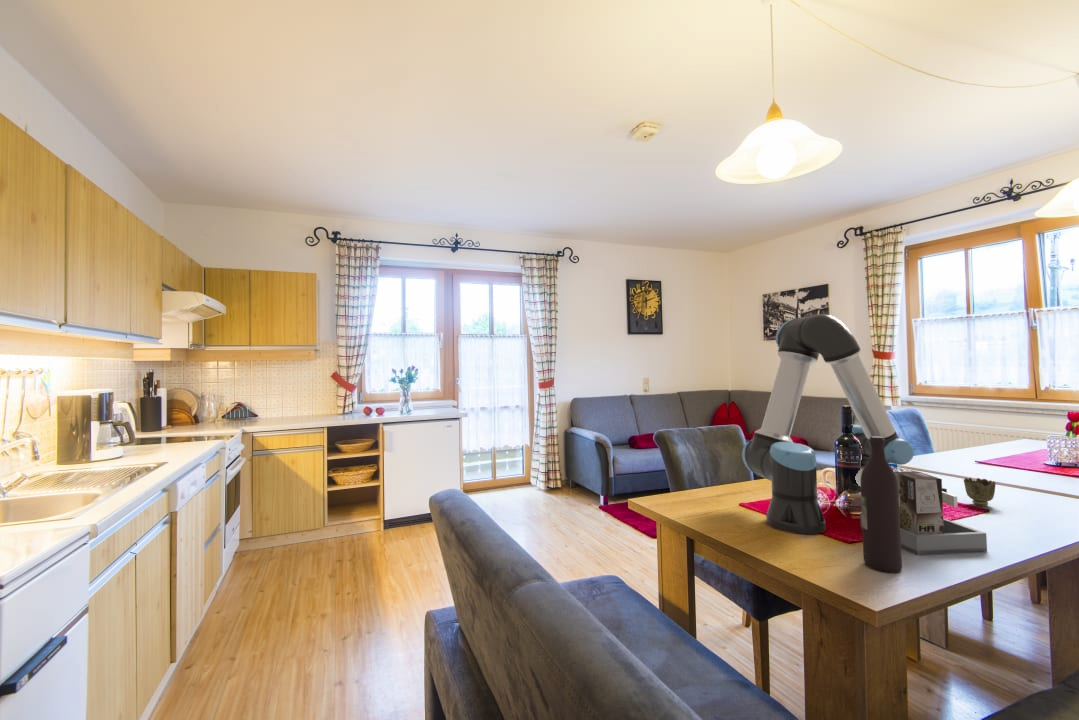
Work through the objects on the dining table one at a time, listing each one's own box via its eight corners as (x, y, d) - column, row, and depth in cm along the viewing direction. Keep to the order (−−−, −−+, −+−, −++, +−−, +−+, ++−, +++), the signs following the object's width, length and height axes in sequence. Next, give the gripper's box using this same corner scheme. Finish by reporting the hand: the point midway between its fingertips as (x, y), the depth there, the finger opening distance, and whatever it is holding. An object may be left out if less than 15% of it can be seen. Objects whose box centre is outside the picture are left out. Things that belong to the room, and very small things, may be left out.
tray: (917, 555, 109) (916, 536, 109) (860, 528, 127) (860, 512, 127) (987, 551, 110) (986, 533, 110) (921, 526, 128) (920, 510, 128)
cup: (970, 507, 143) (969, 482, 143) (960, 500, 150) (959, 476, 150) (1001, 509, 140) (1000, 484, 140) (990, 503, 146) (989, 478, 147)
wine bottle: (882, 559, 108) (877, 434, 108) (910, 572, 101) (904, 438, 101) (856, 561, 107) (851, 435, 107) (882, 575, 100) (876, 440, 100)
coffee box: (945, 542, 114) (943, 479, 114) (917, 541, 115) (914, 478, 115) (921, 529, 123) (919, 470, 123) (895, 529, 124) (893, 470, 124)
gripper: (921, 493, 135) (981, 516, 114) (832, 492, 138) (874, 515, 117) (920, 468, 135) (979, 487, 114) (831, 468, 138) (873, 486, 117)
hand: (926, 501), depth 116 cm, fingers open, 13 cm apart
